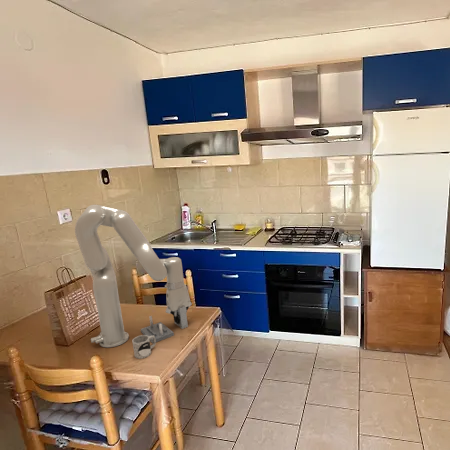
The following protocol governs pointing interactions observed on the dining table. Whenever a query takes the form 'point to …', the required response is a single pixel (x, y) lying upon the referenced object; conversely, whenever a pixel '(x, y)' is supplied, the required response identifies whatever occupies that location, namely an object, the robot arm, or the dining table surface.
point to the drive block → (182, 317)
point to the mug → (143, 346)
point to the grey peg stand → (157, 331)
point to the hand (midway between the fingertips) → (180, 321)
